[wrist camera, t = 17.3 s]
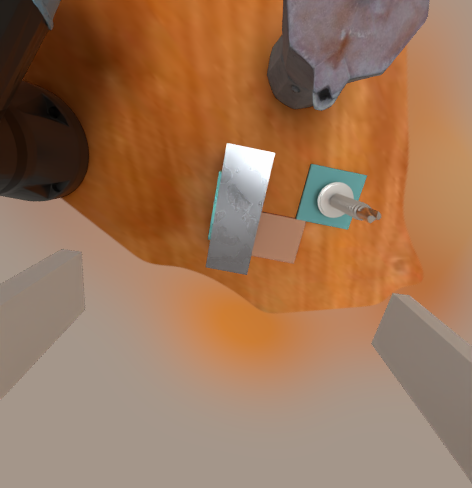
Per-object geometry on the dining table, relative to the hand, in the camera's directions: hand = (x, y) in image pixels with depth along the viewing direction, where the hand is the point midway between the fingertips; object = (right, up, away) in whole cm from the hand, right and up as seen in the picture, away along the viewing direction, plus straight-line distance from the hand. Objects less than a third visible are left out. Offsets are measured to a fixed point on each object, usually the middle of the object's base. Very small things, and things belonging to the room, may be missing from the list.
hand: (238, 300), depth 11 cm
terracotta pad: (+6, +3, +28) cm, 29 cm away
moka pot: (+8, +25, +21) cm, 34 cm away
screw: (+14, +9, +26) cm, 30 cm away
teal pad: (+14, +9, +26) cm, 31 cm away
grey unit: (0, +9, +27) cm, 28 cm away
